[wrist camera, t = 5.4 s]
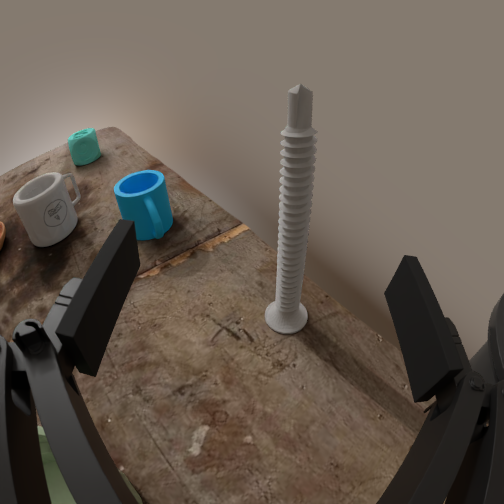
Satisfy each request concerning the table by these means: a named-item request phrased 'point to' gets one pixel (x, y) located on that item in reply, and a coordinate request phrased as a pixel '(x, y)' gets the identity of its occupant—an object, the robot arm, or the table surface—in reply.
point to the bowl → (55, 481)
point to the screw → (294, 213)
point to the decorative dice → (84, 147)
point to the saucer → (2, 234)
